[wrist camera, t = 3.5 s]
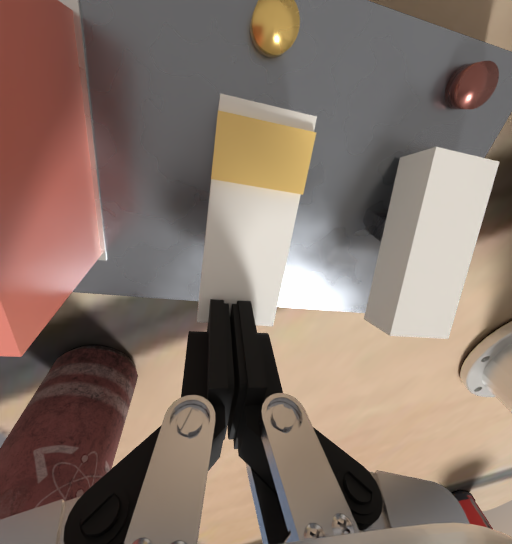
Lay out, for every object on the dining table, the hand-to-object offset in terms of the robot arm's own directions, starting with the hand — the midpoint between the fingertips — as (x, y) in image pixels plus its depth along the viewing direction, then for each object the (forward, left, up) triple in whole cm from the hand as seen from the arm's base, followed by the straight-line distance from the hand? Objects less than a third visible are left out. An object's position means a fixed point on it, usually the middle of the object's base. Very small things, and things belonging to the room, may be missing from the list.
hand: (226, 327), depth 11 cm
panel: (+1, -5, -7) cm, 9 cm away
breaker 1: (0, -4, -2) cm, 4 cm away
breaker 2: (-9, -4, -2) cm, 10 cm away
